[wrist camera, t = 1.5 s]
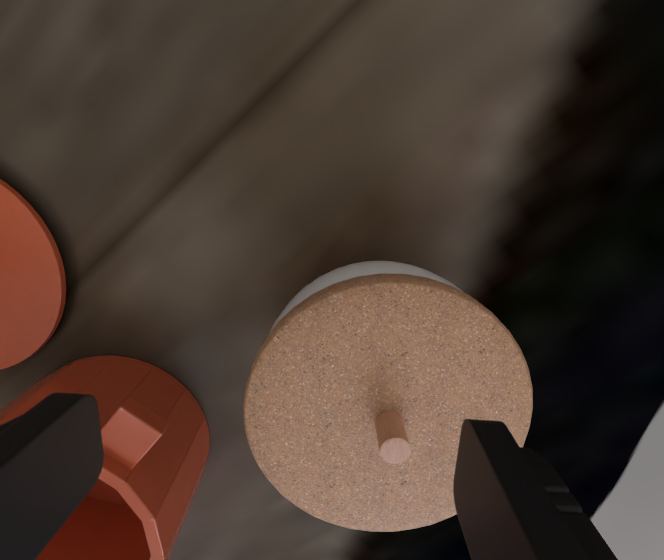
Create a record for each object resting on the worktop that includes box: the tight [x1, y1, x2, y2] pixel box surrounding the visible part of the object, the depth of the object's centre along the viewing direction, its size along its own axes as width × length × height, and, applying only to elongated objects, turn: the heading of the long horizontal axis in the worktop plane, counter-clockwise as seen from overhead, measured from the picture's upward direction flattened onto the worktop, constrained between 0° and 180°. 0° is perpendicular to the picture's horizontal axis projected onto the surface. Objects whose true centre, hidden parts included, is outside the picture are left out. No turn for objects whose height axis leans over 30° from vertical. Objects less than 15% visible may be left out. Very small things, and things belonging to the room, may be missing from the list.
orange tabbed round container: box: [0, 355, 210, 560], centre depth 24 cm, size 12×18×8 cm
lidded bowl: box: [243, 261, 533, 532], centre depth 21 cm, size 13×13×11 cm
